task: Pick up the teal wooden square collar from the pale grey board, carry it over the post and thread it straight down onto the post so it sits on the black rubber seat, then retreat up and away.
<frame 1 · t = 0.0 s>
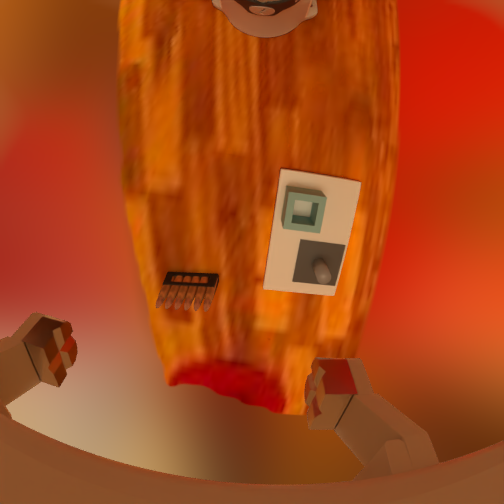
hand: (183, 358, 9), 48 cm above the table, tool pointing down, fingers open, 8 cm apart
collar: (300, 205, 54), point 1 cm above the table, touching post board
post board: (309, 235, 58), on the table
ammunition clip: (193, 276, 63), on the table
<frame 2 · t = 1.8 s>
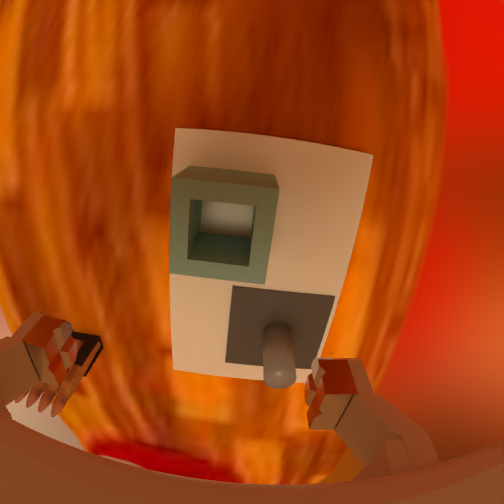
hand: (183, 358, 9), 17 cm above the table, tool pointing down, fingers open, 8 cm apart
collar: (227, 210, 23), point 1 cm above the table, touching post board
post board: (256, 274, 27), on the table
ammunition clip: (67, 334, 32), on the table
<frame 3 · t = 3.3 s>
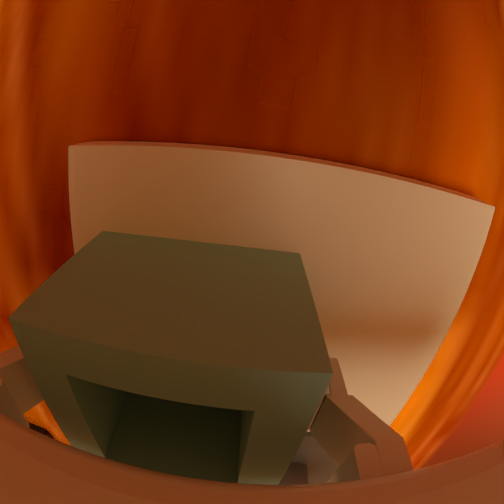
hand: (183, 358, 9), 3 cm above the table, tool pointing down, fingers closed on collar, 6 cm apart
collar: (193, 324, 11), point 1 cm above the table, touching gripper, post board
post board: (255, 402, 14), on the table
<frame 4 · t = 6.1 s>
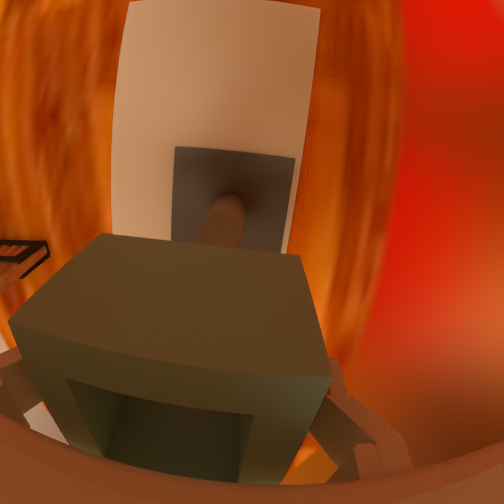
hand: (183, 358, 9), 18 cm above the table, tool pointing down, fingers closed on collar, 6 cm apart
collar: (192, 326, 11), point 16 cm above the table, touching gripper
post board: (205, 140, 23), on the table
ammunition clip: (18, 247, 27), on the table
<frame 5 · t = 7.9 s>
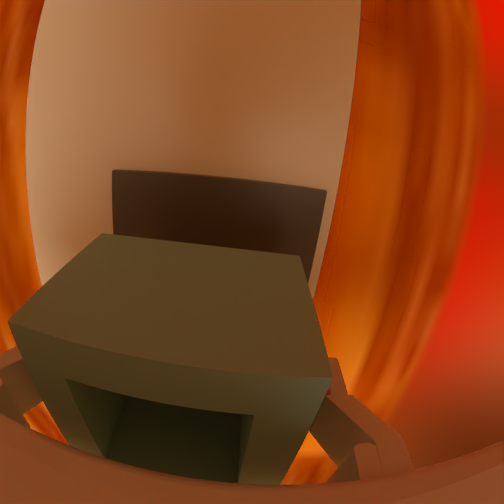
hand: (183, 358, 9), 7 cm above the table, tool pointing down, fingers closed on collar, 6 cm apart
collar: (192, 326, 11), point 5 cm above the table, touching gripper
post board: (167, 155, 13), on the table
when the fingers open (4 cm above the table, at t = 9.0 s): collar stays where it is, resting on post board.
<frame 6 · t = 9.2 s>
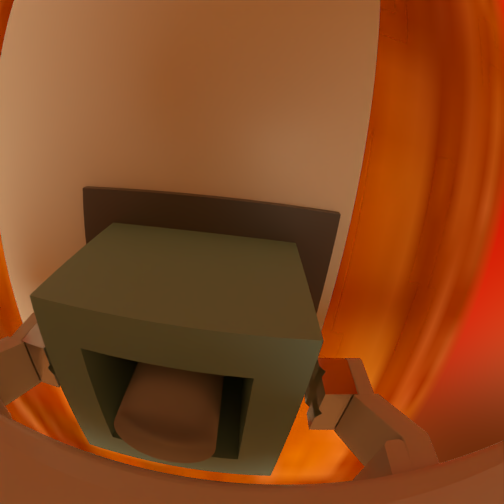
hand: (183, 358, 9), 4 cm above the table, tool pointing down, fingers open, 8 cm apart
collar: (196, 311, 11), point 2 cm above the table, touching post board
post board: (149, 168, 11), on the table
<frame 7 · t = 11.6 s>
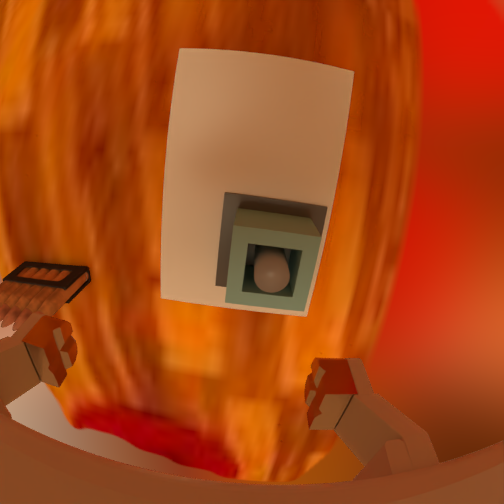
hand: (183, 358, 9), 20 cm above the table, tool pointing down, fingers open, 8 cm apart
collar: (269, 247, 28), point 2 cm above the table, touching post board
post board: (249, 186, 27), on the table
ammunition clip: (56, 270, 31), on the table
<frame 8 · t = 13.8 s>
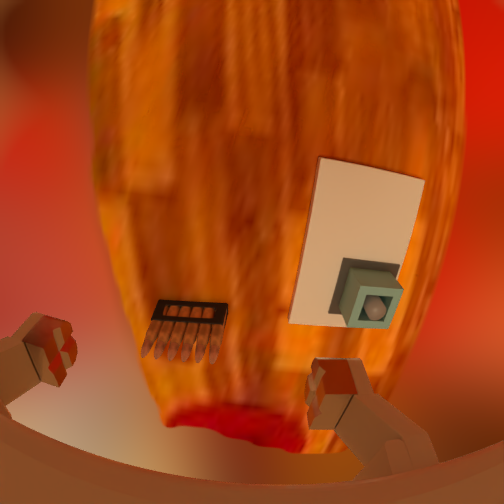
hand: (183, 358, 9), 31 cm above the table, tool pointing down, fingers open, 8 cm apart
collar: (364, 289, 42), point 2 cm above the table, touching post board
post board: (354, 251, 41), on the table
ammunition clip: (193, 305, 46), on the table
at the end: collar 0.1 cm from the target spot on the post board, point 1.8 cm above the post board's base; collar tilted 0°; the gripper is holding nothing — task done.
